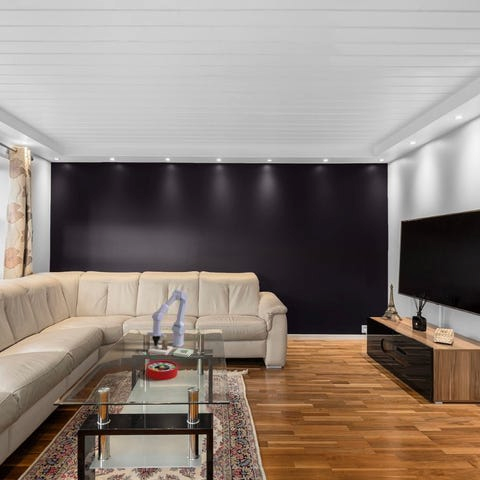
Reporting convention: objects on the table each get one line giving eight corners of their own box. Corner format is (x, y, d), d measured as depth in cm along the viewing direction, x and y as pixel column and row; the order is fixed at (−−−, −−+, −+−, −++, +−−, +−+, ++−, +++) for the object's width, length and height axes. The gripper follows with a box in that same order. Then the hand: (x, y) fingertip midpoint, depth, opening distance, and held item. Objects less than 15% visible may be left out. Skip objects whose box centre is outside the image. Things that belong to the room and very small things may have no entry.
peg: (162, 350, 316) (163, 339, 315) (167, 350, 315) (168, 340, 314) (160, 351, 312) (161, 341, 311) (165, 352, 311) (166, 342, 310)
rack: (178, 350, 317) (178, 347, 317) (193, 352, 315) (193, 349, 315) (172, 355, 306) (173, 352, 305) (188, 357, 303) (188, 354, 303)
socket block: (155, 346, 322) (155, 344, 322) (172, 349, 319) (172, 346, 319) (148, 352, 308) (148, 349, 308) (166, 355, 306) (166, 352, 305)
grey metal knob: (154, 348, 317) (154, 344, 317) (159, 349, 316) (159, 345, 316) (152, 350, 313) (152, 346, 313) (157, 350, 312) (157, 346, 312)
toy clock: (143, 370, 259) (149, 359, 279) (143, 379, 259) (149, 368, 279) (175, 372, 260) (179, 361, 280) (175, 381, 260) (178, 369, 280)
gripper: (145, 328, 311) (144, 346, 312) (164, 330, 308) (162, 348, 309) (149, 325, 318) (148, 343, 319) (167, 328, 315) (166, 345, 316)
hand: (155, 345), depth 314 cm, fingers closed, pressing on grey metal knob
